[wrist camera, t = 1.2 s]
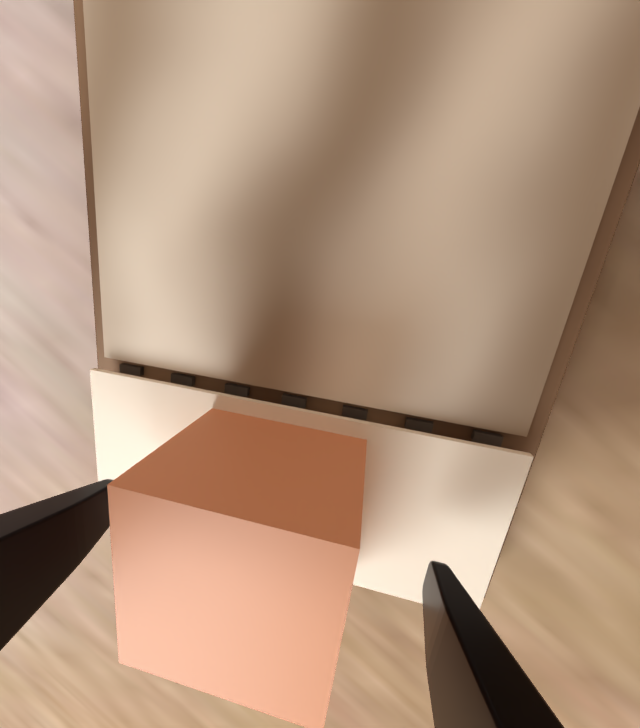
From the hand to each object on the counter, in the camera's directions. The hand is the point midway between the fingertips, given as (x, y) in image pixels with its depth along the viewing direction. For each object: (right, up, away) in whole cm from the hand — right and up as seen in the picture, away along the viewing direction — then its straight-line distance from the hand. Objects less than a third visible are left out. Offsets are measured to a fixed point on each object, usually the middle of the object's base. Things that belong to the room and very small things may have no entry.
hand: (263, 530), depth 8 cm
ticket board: (+1, +7, +2) cm, 7 cm away
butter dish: (0, 0, +2) cm, 2 cm away
